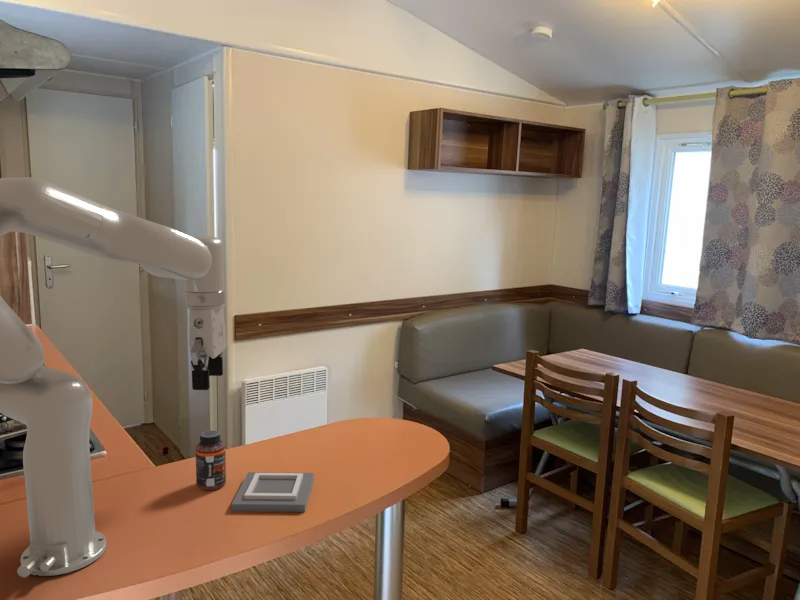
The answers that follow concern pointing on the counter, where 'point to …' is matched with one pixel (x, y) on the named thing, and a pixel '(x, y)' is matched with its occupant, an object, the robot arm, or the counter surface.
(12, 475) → the counter surface
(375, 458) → the counter surface
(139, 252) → the robot arm
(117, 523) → the counter surface
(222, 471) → the supplement bottle
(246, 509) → the socket plate
